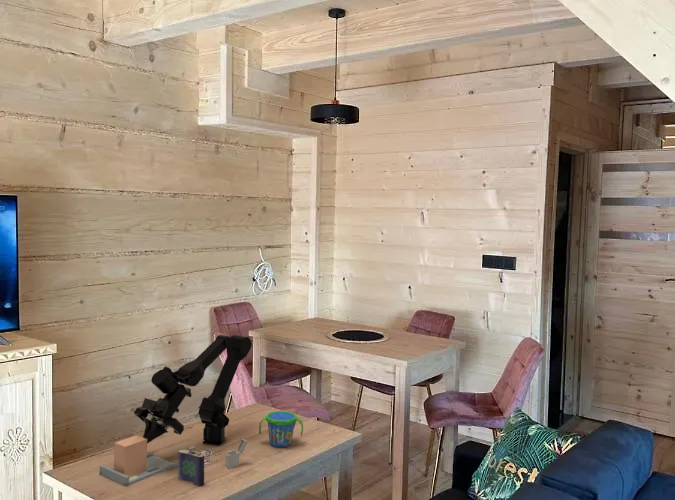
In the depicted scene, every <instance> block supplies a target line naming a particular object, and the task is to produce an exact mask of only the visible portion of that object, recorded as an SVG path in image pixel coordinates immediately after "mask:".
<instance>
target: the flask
mask: <svg viewBox="0 0 675 500" xmlns="http://www.w3.org/2000/svg"><path fill="white" fill-rule="evenodd" d="M195 448H196V445H191V446H190V447H188V449H180V450H178V452H177V457H178V459H177V460H178V461H177V463H178V465H177V479H178V480H180V481H186V482H189V483H190V482H191V483H192V485H194V486H196V487H202V486H205V455H204V454H203V453H202V452H197V450H196V449H195Z"/></svg>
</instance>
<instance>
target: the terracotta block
mask: <svg viewBox="0 0 675 500" xmlns="http://www.w3.org/2000/svg"><path fill="white" fill-rule="evenodd" d="M113 452H114V453H113V455H114V456H113V463H114V464H113V467H114V470H115V471H118V472H120V473H122V474H124V475H127V476H129V478H130V477H132V476H135V475H137V474H140V473H142V472H145V471H147V454H148V444H147V439H145V438H143V436H139V435H137V434H136V435H133V436H131V437H128V438H124V439H121V440H118V441H115V442H114V451H113Z"/></svg>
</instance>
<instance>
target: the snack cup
mask: <svg viewBox="0 0 675 500" xmlns="http://www.w3.org/2000/svg"><path fill="white" fill-rule="evenodd" d="M265 420H266V422H267V429H268V438H269V443H270V444H271V446H273V447H276V448H281V447H285V448H286V447H288V446H290V445H291V443H292V439H293V435H294V429H295V426H296V422H297V421H298V422H299V424H300V425H301V432H300V436H302V435H303V433H304V423H303V421H302V420H301V418H300V417H298V416H297V415H296V414H295V413H294V412H290V411H284V410H282V411H281V410H277V411H271V412H269V413H268V414H266V416H263V417H262V418H261V420H260V421H259V424H258V433H259V435H262V423H263V421H265Z"/></svg>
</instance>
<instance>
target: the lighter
mask: <svg viewBox="0 0 675 500" xmlns="http://www.w3.org/2000/svg"><path fill="white" fill-rule="evenodd" d="M248 442H249V441H248V440H246V439H244V438H242V439H240V442H239V444H238V447H237V449H235V448H234V449H230V450H229V451H228V453H226V454H225V467H226V469H227V470H229V469H232V468H237V467H239V466H240V454H243V453H244V452H245V449H246V447H247V443H248Z"/></svg>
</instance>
